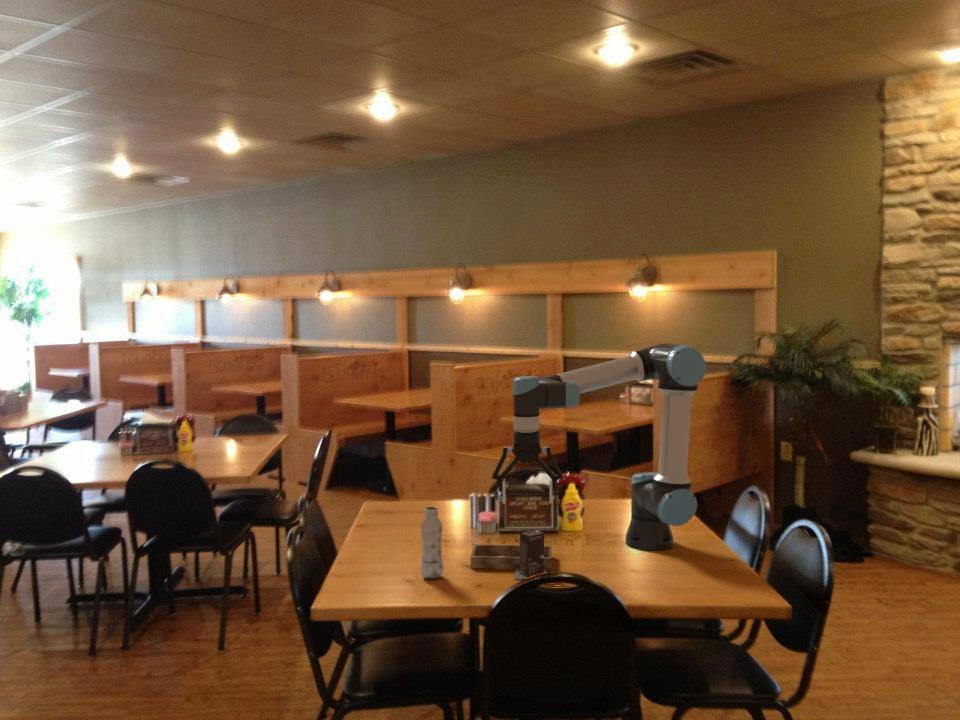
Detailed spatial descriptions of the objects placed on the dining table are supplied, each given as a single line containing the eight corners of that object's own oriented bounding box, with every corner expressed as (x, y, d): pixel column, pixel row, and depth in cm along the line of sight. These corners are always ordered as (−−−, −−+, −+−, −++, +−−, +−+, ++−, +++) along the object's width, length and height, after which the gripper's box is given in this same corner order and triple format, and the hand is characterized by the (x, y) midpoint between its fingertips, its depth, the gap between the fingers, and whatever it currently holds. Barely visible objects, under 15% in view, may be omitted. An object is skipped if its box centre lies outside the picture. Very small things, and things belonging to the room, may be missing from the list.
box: (528, 577, 245) (528, 535, 244) (518, 573, 249) (518, 532, 248) (545, 573, 249) (545, 532, 248) (535, 569, 253) (535, 529, 252)
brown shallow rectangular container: (551, 556, 266) (551, 545, 265) (551, 570, 253) (551, 558, 253) (474, 555, 268) (474, 544, 267) (470, 568, 255) (470, 556, 255)
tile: (546, 570, 253) (546, 568, 253) (546, 580, 244) (546, 579, 244) (515, 569, 254) (515, 568, 254) (514, 579, 245) (514, 578, 245)
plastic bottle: (423, 582, 243) (422, 512, 242) (418, 574, 250) (417, 506, 248) (446, 580, 245) (445, 510, 244) (440, 572, 252) (439, 504, 250)
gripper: (569, 427, 253) (570, 499, 255) (484, 428, 255) (485, 499, 256) (570, 432, 246) (571, 505, 247) (482, 432, 247) (483, 505, 249)
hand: (527, 502), depth 252 cm, fingers open, 13 cm apart
